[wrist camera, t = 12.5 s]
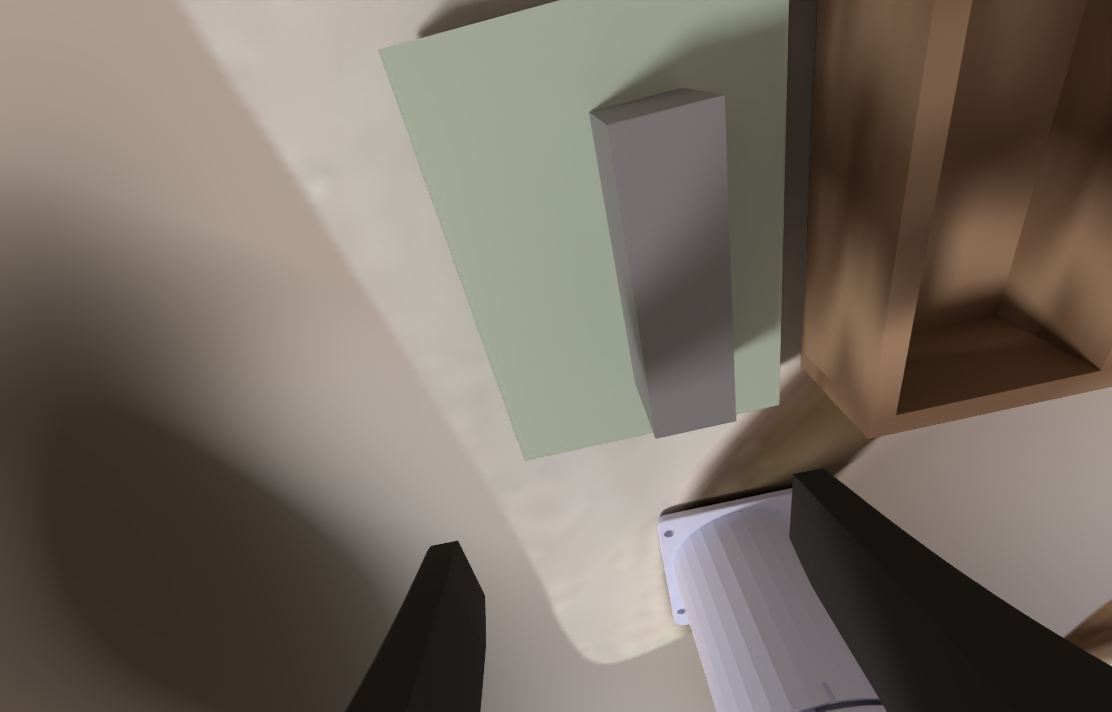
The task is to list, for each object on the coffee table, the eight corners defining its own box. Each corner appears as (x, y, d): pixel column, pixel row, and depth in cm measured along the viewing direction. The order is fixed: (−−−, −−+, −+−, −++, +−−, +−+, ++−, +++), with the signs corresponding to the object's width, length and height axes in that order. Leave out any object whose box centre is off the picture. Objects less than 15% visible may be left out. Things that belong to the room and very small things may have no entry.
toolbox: (1000, 321, 20) (1160, 407, 15) (752, 377, 20) (827, 478, 15) (1224, -445, 10) (1892, -921, 5) (741, -295, 11) (931, -596, 6)
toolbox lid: (754, 373, 20) (821, 460, 16) (524, 425, 21) (526, 522, 16) (751, -46, 13) (872, -100, 9) (396, 51, 14) (340, 46, 9)
